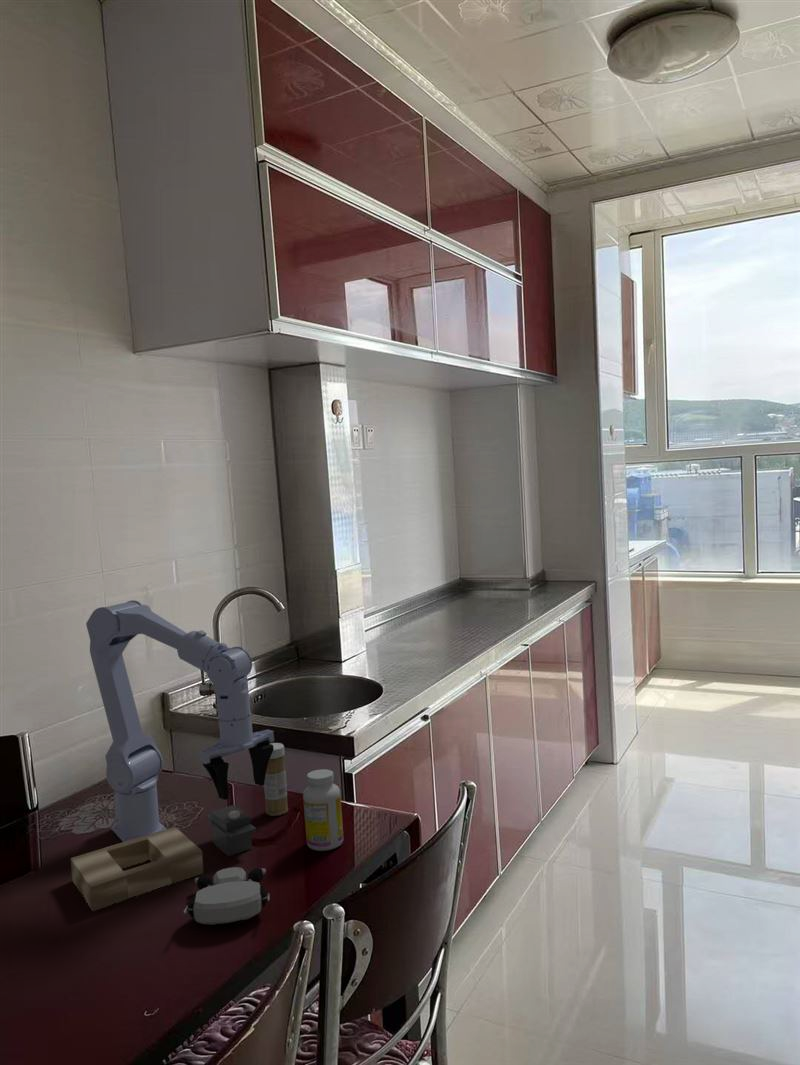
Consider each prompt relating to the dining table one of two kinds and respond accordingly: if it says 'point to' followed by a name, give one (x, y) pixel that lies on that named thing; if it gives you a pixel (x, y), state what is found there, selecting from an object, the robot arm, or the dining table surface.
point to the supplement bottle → (322, 811)
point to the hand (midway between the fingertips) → (242, 791)
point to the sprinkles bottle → (276, 782)
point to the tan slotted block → (111, 884)
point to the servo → (231, 830)
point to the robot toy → (228, 896)
